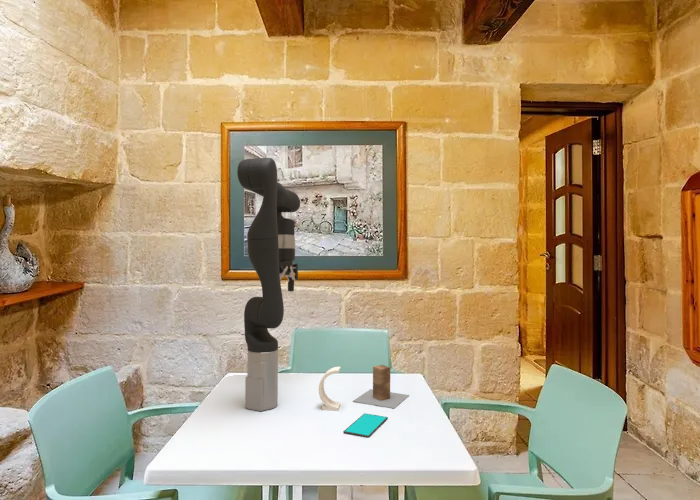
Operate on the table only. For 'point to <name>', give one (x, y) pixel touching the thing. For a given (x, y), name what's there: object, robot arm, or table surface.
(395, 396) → the mat
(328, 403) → the headphone stand
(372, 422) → the smartphone
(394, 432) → the table surface
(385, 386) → the walnut block
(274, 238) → the robot arm
